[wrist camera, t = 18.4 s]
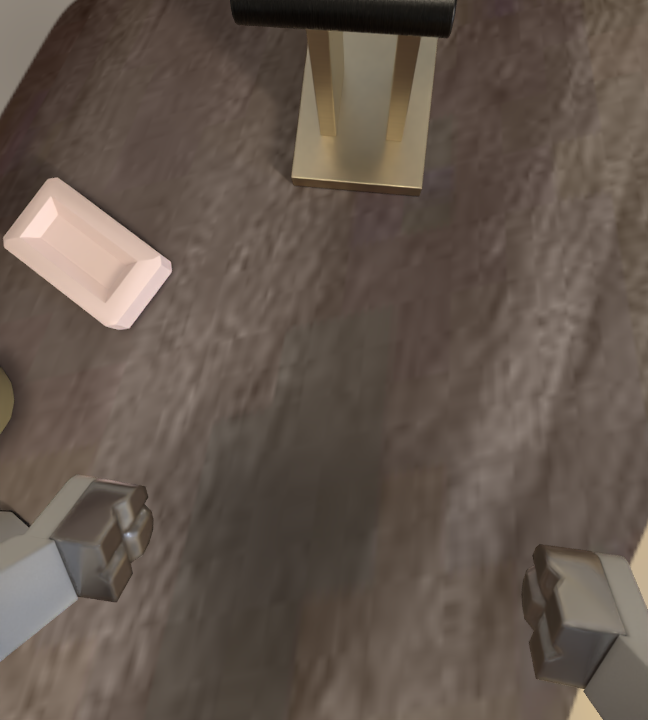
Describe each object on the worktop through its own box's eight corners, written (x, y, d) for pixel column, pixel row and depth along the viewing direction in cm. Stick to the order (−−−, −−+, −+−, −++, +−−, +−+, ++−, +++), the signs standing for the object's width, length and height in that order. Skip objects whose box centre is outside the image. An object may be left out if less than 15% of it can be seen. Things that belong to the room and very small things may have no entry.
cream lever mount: (419, 196, 31) (464, 58, 18) (293, 185, 31) (250, 44, 19) (435, 44, 31) (490, -195, 19) (311, 36, 32) (282, -201, 19)
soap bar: (127, 334, 31) (108, 330, 29) (21, 252, 32) (-6, 241, 30) (178, 267, 31) (163, 257, 29) (71, 187, 32) (48, 170, 30)
